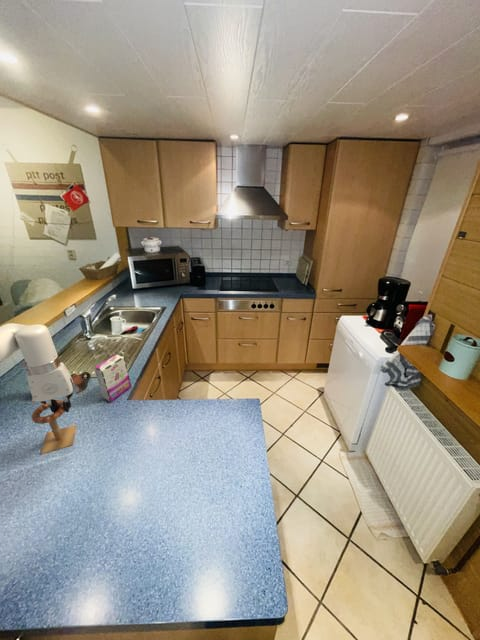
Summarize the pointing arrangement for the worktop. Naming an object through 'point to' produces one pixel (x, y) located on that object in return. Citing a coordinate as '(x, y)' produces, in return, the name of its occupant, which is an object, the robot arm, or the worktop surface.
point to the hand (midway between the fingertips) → (62, 410)
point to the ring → (50, 418)
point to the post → (58, 438)
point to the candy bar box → (113, 377)
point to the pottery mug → (81, 380)
